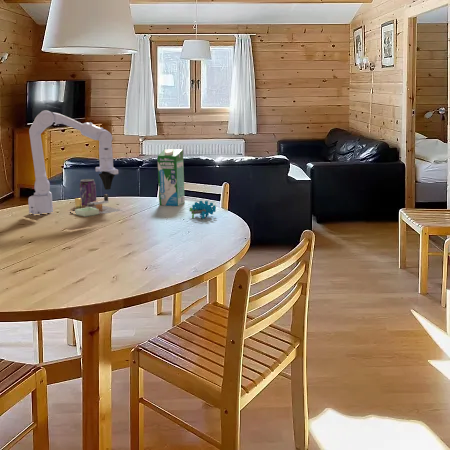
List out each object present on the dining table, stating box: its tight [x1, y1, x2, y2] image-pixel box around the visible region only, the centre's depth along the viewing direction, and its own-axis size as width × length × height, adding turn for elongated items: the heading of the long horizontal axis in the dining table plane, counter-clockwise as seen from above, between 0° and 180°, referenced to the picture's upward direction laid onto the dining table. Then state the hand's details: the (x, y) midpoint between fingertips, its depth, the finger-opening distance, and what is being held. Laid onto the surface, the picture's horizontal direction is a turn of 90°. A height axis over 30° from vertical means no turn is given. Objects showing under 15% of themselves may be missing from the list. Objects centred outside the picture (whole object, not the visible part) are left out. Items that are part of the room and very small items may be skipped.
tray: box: [74, 207, 99, 218], centre depth 257 cm, size 7×7×2 cm
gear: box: [189, 200, 217, 220], centre depth 251 cm, size 11×6×10 cm
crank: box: [87, 193, 109, 206], centre depth 267 cm, size 10×3×4 cm, turn 135°
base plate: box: [85, 200, 123, 218], centre depth 265 cm, size 19×17×4 cm
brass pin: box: [74, 197, 83, 210], centre depth 264 cm, size 3×3×6 cm
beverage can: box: [79, 178, 97, 207], centre depth 280 cm, size 7×7×12 cm
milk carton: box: [157, 148, 186, 207], centre depth 279 cm, size 9×9×25 cm
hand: (107, 189), depth 268 cm, fingers closed
